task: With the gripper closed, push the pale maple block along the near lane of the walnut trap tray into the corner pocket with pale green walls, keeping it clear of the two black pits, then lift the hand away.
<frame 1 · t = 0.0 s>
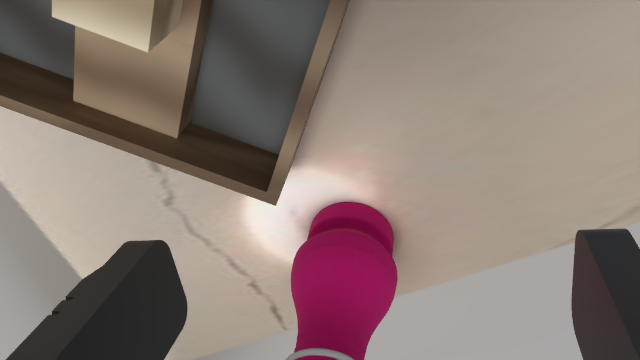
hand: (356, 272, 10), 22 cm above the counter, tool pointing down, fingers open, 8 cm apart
trap tray: (153, 10, 32), on the counter
pepper mill: (352, 232, 40), on the counter
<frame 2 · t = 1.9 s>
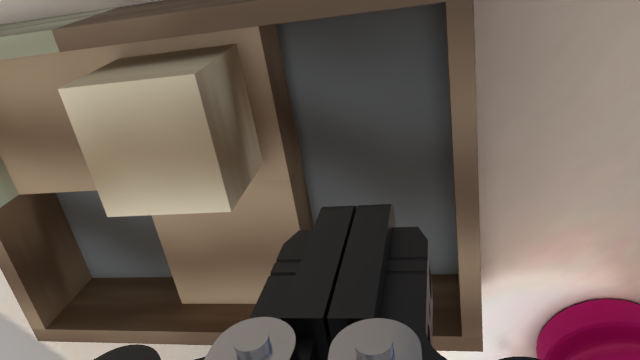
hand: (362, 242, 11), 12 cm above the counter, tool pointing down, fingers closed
trap tray: (232, 159, 25), on the counter
maple block: (193, 111, 22), point 2 cm above the counter, touching trap tray
pepper mill: (601, 343, 26), on the counter
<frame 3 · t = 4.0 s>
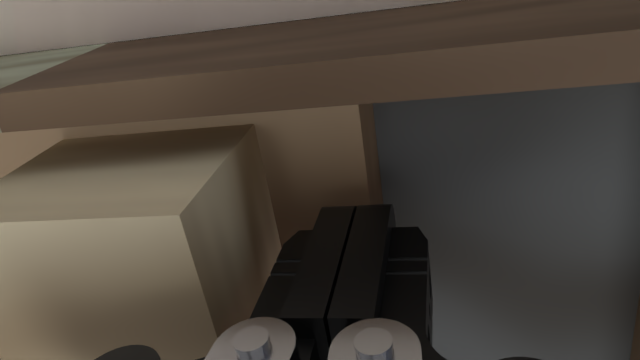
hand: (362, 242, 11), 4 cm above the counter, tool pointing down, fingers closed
trap tray: (280, 268, 17), on the counter
maple block: (182, 223, 13), point 3 cm above the counter, touching trap tray
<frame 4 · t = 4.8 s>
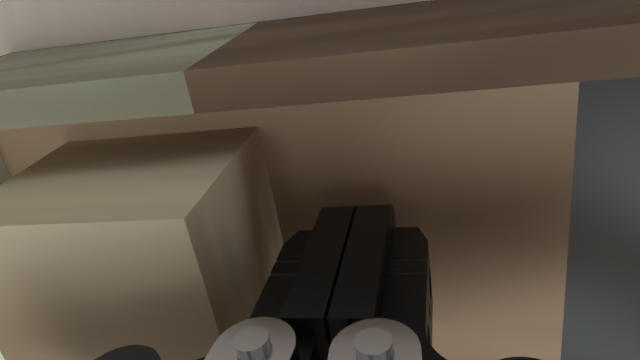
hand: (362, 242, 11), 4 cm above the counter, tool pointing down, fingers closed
trap tray: (418, 265, 16), on the counter
maple block: (185, 225, 13), point 3 cm above the counter, touching gripper
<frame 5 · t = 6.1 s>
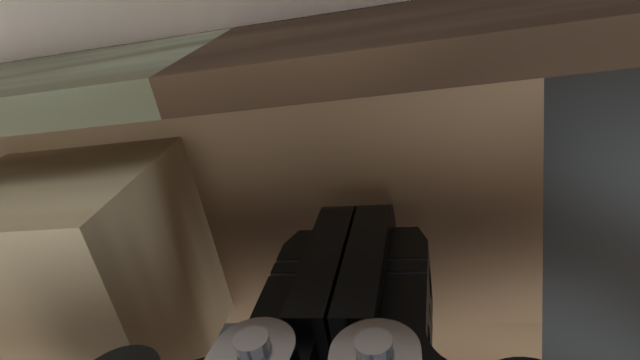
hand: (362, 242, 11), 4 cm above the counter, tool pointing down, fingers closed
trap tray: (402, 265, 16), on the counter
maple block: (123, 232, 14), point 2 cm above the counter, touching trap tray
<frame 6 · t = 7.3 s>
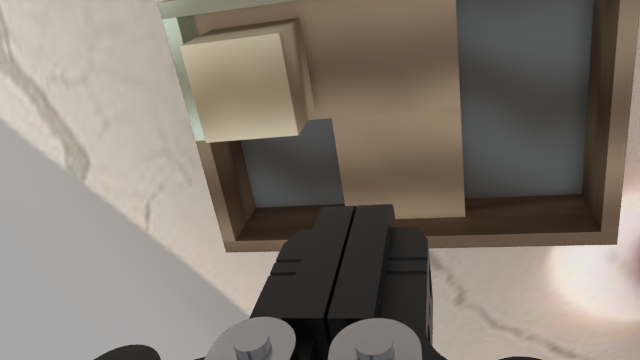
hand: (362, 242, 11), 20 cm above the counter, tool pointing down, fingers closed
trap tray: (397, 98, 31), on the counter
maple block: (263, 69, 29), point 2 cm above the counter, touching trap tray
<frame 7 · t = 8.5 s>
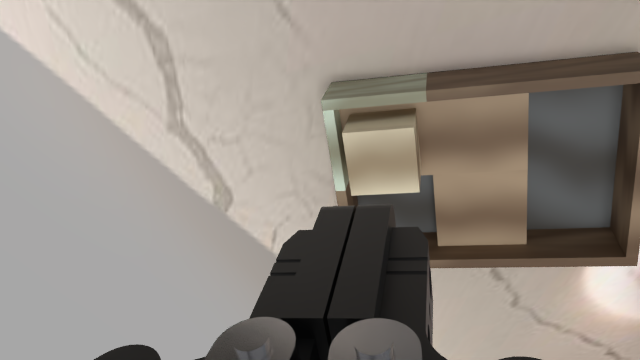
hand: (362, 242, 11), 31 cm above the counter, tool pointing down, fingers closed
trap tray: (477, 158, 43), on the counter
maple block: (386, 141, 41), point 2 cm above the counter, touching trap tray
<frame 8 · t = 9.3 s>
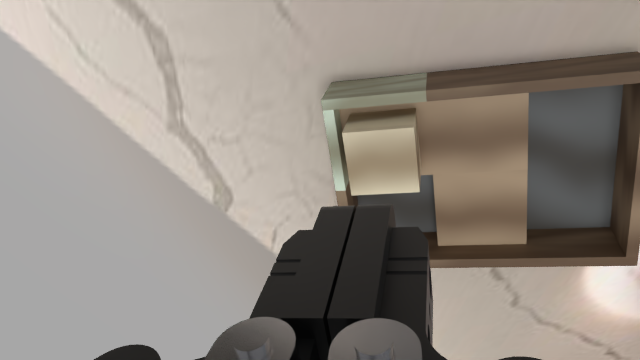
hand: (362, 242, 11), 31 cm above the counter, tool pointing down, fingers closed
trap tray: (477, 158, 43), on the counter
maple block: (386, 141, 41), point 2 cm above the counter, touching trap tray
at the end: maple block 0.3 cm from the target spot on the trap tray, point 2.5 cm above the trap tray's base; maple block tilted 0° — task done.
